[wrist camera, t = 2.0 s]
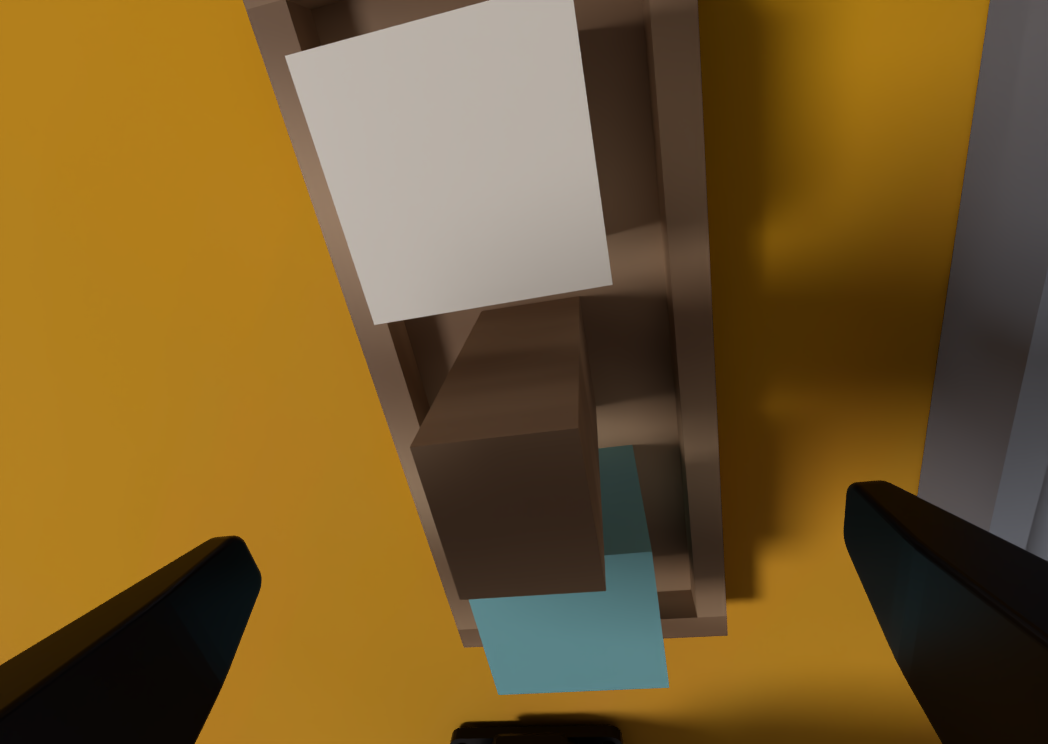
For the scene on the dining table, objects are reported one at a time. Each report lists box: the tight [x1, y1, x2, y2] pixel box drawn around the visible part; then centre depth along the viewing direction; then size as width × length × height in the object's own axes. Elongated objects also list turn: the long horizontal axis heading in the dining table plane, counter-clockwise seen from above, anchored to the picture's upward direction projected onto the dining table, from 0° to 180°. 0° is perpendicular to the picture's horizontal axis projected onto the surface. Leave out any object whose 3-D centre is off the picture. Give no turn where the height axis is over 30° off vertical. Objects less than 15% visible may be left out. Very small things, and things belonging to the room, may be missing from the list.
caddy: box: [243, 0, 727, 647], centre depth 11 cm, size 18×8×7 cm, turn 11°
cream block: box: [285, 0, 613, 325], centre depth 10 cm, size 4×4×4 cm
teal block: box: [469, 445, 669, 695], centre depth 13 cm, size 4×4×4 cm
